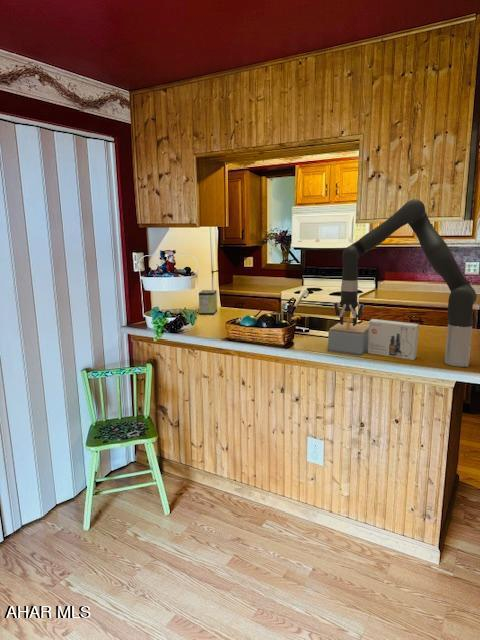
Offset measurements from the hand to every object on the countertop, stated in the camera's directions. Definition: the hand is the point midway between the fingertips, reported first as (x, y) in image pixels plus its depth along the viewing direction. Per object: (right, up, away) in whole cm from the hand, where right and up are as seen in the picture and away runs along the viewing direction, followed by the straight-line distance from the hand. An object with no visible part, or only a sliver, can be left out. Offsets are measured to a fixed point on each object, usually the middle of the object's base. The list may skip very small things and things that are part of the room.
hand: (348, 324), depth 203 cm
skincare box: (+19, -14, -5) cm, 24 cm away
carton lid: (+3, -2, +5) cm, 6 cm away
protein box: (-74, +7, +102) cm, 126 cm away
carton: (+2, -12, +6) cm, 13 cm away
